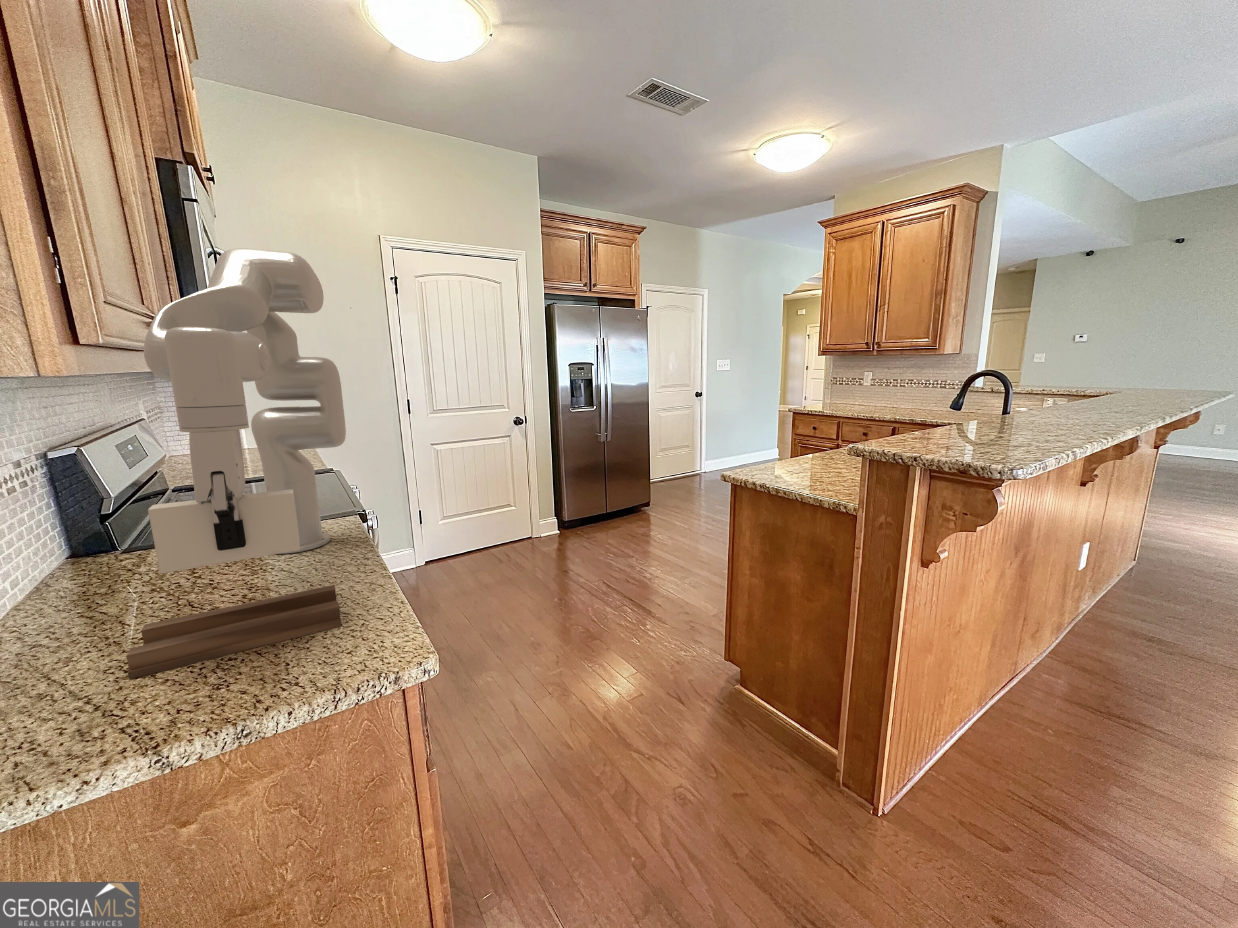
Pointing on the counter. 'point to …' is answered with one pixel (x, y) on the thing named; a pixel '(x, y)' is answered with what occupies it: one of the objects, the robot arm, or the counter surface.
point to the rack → (232, 630)
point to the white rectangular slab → (191, 533)
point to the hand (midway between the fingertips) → (233, 543)
